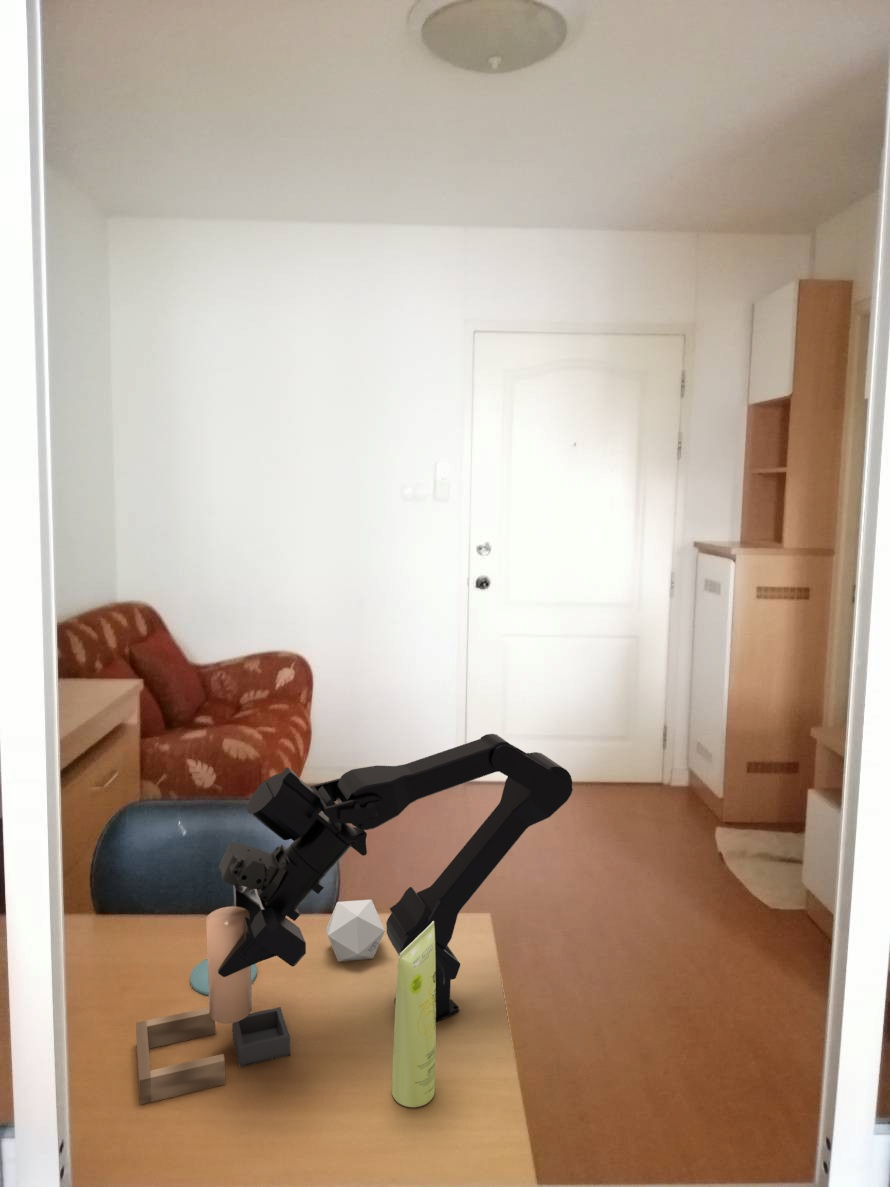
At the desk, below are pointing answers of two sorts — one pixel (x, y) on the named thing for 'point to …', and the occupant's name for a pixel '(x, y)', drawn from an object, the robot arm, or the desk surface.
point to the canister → (225, 993)
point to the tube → (415, 1022)
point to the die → (355, 930)
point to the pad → (201, 977)
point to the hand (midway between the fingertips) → (217, 961)
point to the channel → (180, 1075)
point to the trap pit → (261, 1037)
